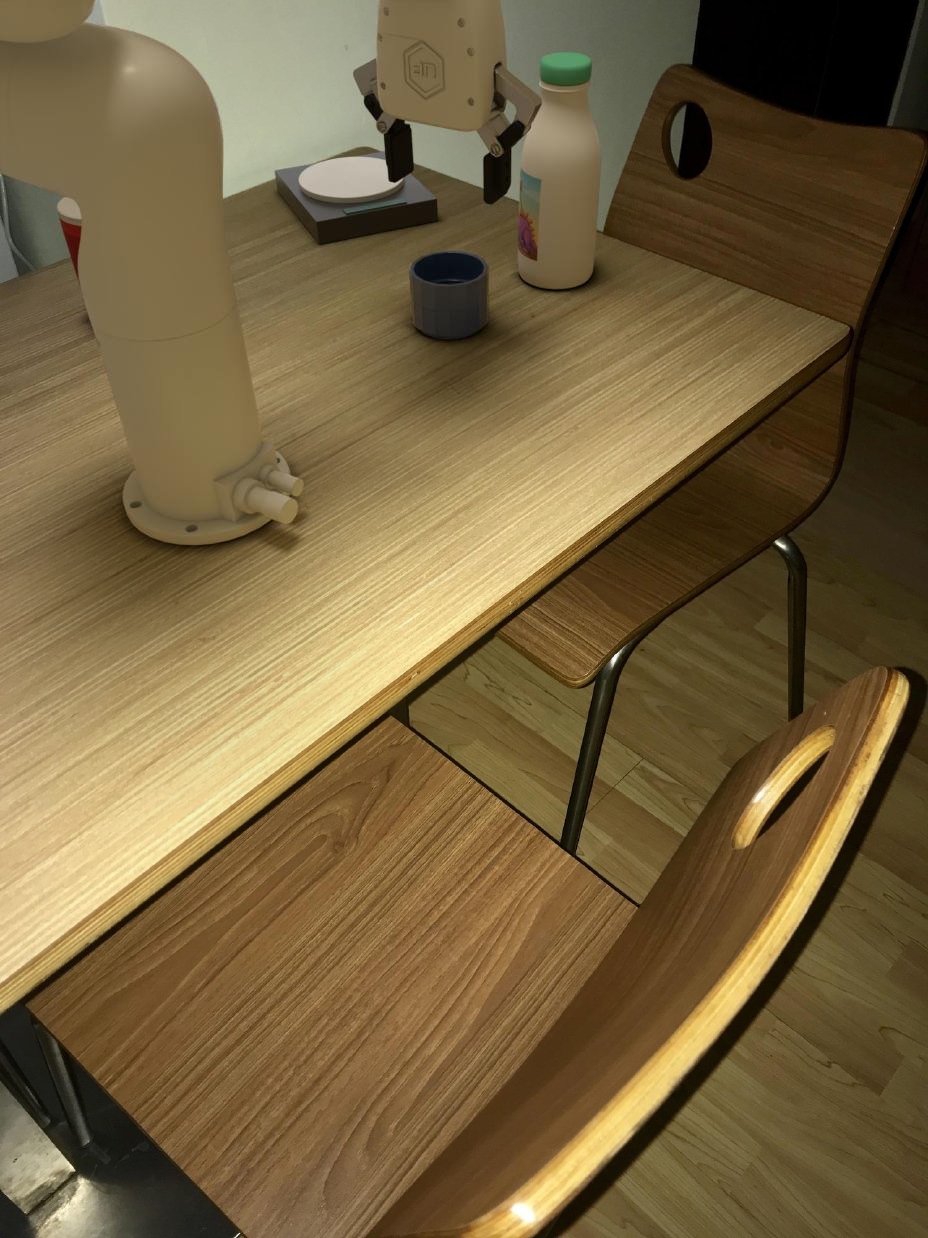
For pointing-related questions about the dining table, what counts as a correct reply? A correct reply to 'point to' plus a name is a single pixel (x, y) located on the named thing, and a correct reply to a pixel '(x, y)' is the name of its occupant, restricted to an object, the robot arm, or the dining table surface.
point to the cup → (449, 294)
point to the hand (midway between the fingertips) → (447, 187)
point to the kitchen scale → (354, 198)
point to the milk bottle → (560, 179)
